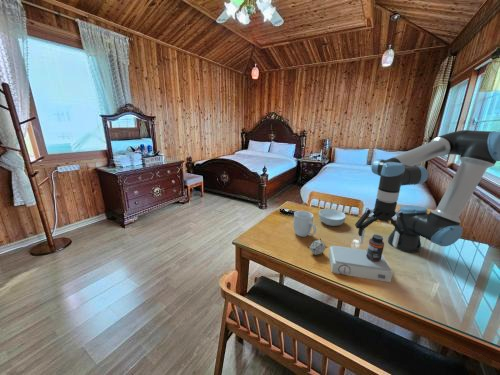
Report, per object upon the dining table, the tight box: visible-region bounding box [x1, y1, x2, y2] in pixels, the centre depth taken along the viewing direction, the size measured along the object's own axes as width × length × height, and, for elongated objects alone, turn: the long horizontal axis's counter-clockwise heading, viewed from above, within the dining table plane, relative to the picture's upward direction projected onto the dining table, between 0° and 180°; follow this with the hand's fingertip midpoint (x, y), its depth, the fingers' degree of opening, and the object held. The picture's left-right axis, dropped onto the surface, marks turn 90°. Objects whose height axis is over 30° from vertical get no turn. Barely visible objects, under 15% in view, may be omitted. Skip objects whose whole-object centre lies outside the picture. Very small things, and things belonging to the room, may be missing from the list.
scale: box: [328, 244, 394, 283], centre depth 102 cm, size 24×15×6 cm, turn 77°
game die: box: [307, 238, 328, 257], centre depth 111 cm, size 9×8×10 cm
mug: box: [293, 210, 317, 238], centre depth 128 cm, size 15×11×13 cm
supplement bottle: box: [366, 233, 385, 262], centre depth 98 cm, size 6×6×11 cm
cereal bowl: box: [318, 208, 347, 227], centre depth 145 cm, size 17×17×7 cm
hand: (377, 244), depth 98 cm, fingers open, 13 cm apart
